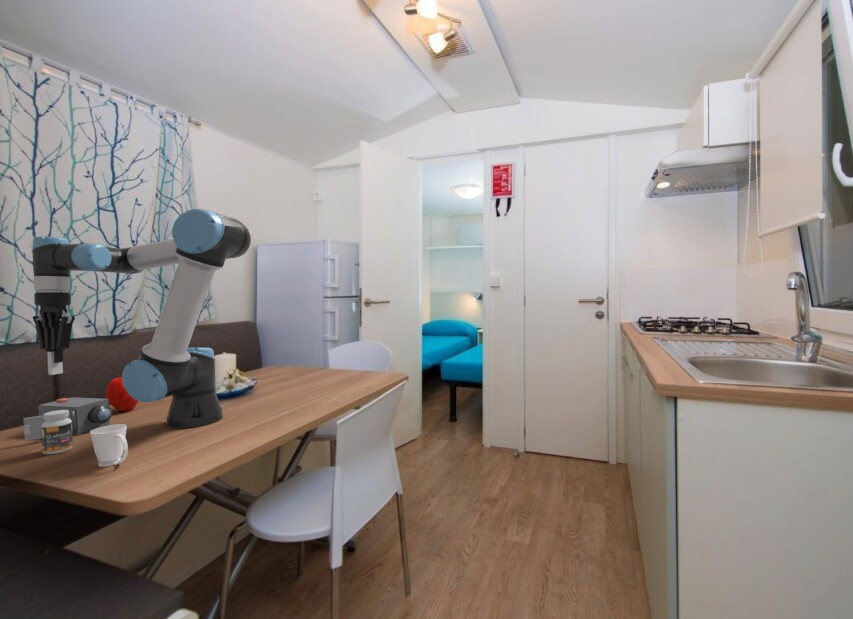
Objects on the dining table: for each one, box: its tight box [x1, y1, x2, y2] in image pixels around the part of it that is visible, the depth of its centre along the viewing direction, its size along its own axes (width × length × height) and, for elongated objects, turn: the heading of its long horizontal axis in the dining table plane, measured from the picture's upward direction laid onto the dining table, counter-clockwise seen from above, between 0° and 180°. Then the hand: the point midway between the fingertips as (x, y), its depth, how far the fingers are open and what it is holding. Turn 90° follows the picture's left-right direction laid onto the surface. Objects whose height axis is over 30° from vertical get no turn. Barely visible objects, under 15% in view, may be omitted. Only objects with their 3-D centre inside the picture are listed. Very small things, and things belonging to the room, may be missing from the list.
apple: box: [105, 376, 139, 412], centre depth 135 cm, size 10×10×12 cm
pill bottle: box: [41, 410, 74, 455], centre depth 100 cm, size 6×6×10 cm
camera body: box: [38, 396, 113, 436], centre depth 117 cm, size 17×9×9 cm, turn 78°
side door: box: [23, 410, 76, 442], centre depth 108 cm, size 10×2×6 cm, turn 128°
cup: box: [89, 423, 129, 467], centre depth 91 cm, size 7×10×8 cm
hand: (55, 373), depth 113 cm, fingers closed
